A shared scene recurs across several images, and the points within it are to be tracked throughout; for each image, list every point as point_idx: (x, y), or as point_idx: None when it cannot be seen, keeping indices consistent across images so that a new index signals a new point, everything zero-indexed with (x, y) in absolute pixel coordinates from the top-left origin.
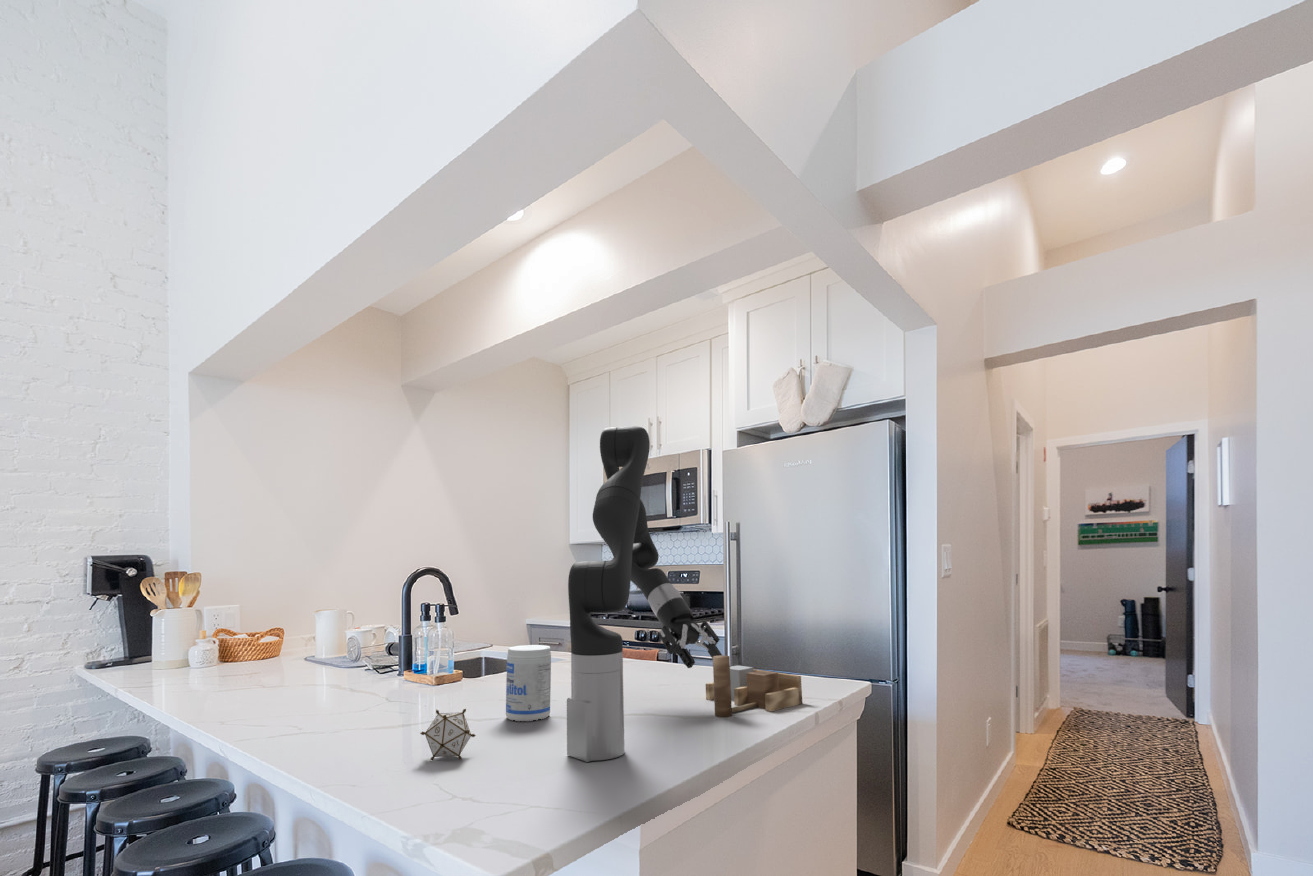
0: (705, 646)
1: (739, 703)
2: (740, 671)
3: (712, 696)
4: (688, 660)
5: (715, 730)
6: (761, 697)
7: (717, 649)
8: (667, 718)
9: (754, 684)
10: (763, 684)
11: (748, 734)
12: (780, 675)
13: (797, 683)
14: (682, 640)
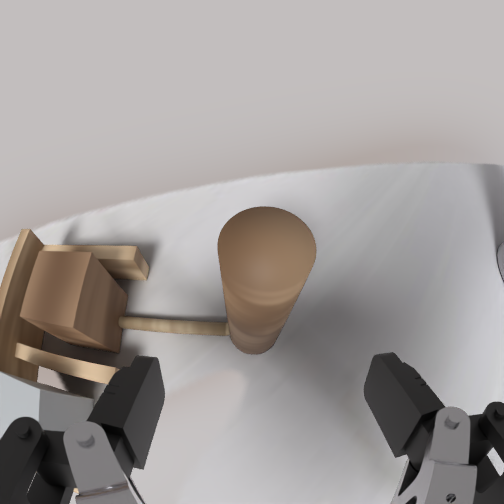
0: (135, 492)
1: None
2: (37, 387)
3: None
4: (408, 367)
5: (361, 247)
6: (115, 294)
7: (118, 389)
8: None
9: (96, 305)
10: (103, 267)
11: (329, 193)
12: (12, 283)
13: (38, 239)
14: (454, 463)
